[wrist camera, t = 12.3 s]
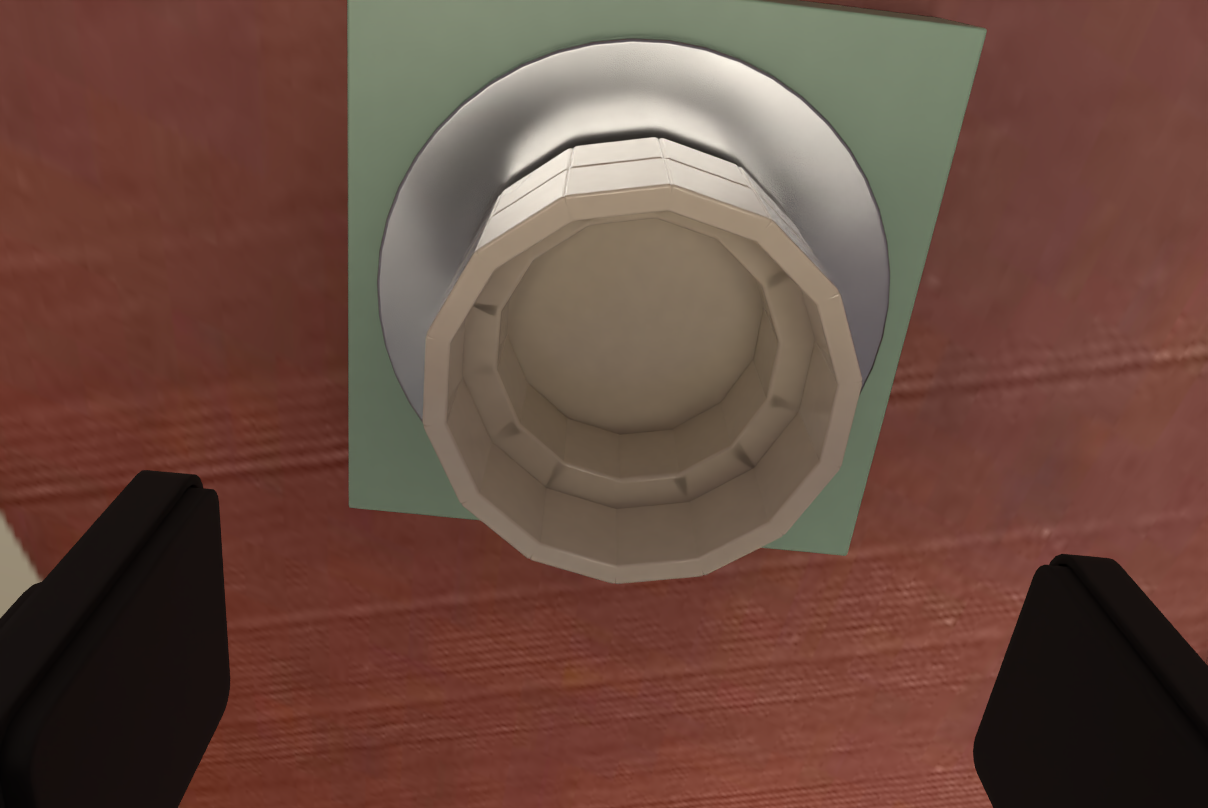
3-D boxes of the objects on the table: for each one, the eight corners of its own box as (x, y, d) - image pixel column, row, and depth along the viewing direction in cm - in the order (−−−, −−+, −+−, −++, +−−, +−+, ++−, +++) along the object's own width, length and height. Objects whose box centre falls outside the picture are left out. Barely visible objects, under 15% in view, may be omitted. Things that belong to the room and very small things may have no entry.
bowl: (453, 448, 21) (416, 565, 17) (470, 110, 18) (431, 156, 14) (770, 479, 21) (808, 603, 17) (841, 152, 18) (907, 212, 14)
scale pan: (379, 490, 22) (373, 503, 22) (385, 2, 18) (379, 4, 17) (824, 534, 23) (829, 548, 22) (941, 70, 18) (951, 73, 18)
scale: (375, 464, 26) (347, 526, 23) (381, -52, 20) (346, -51, 18) (818, 508, 26) (842, 573, 23) (938, 17, 21) (988, 28, 18)
